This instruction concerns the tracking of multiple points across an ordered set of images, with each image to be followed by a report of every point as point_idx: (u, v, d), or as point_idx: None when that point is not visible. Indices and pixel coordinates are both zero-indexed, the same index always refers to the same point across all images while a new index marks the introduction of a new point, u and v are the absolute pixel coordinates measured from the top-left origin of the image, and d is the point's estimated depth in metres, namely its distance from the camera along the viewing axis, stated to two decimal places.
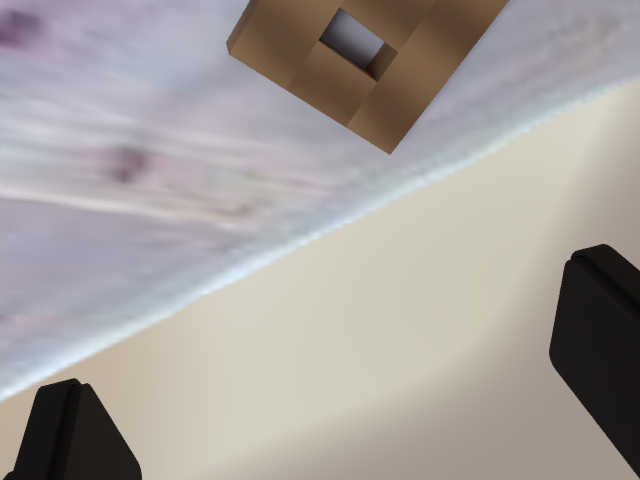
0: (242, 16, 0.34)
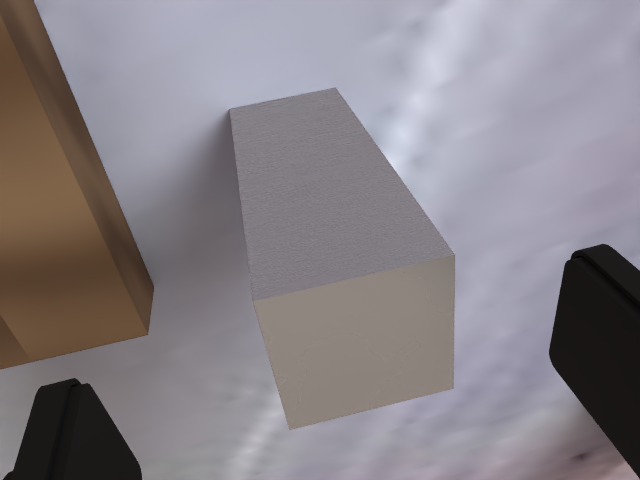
0: None
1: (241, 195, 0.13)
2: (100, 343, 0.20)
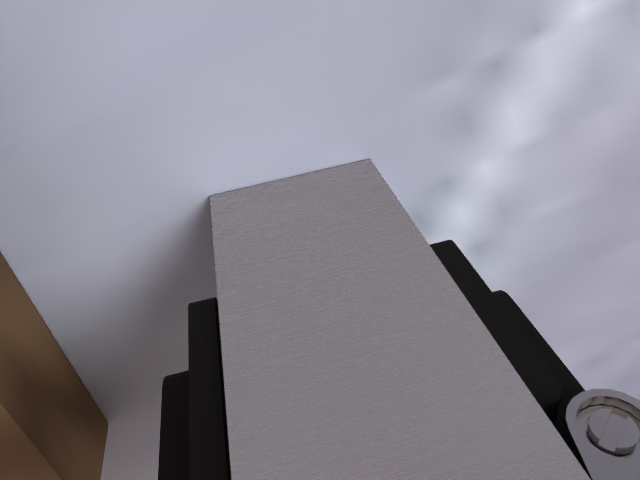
0: None
1: (231, 436, 0.07)
2: None
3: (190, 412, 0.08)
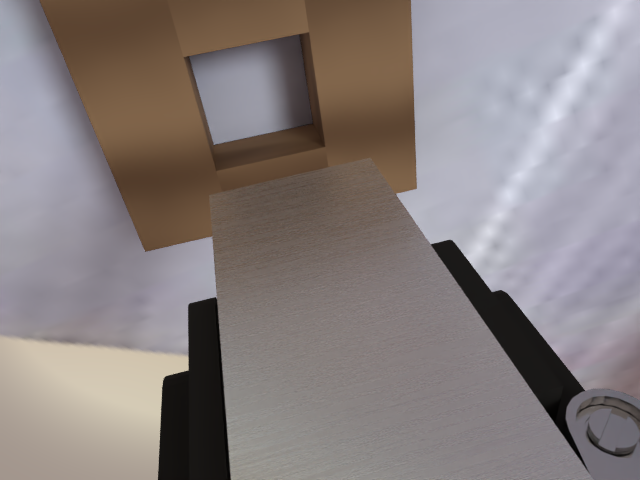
0: None
1: (230, 436, 0.07)
2: None
3: (190, 412, 0.08)
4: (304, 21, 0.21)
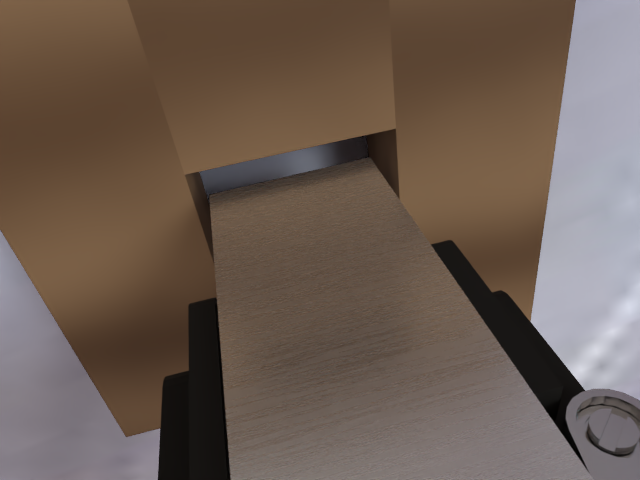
0: None
1: (230, 436, 0.07)
2: None
3: (190, 412, 0.08)
4: (390, 112, 0.12)
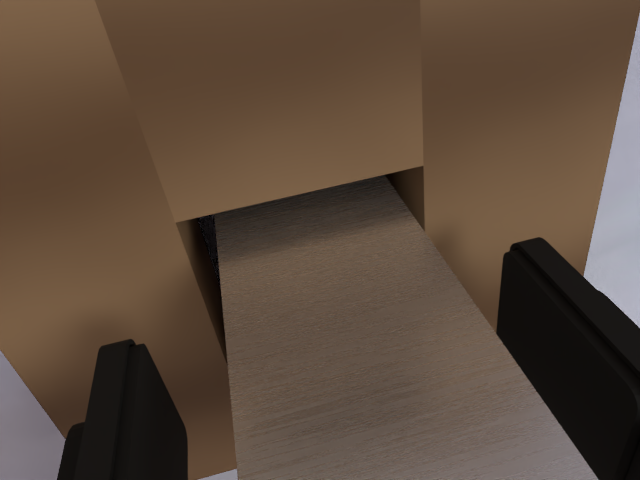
0: None
1: (231, 376, 0.08)
2: None
3: (75, 477, 0.07)
4: (417, 147, 0.10)
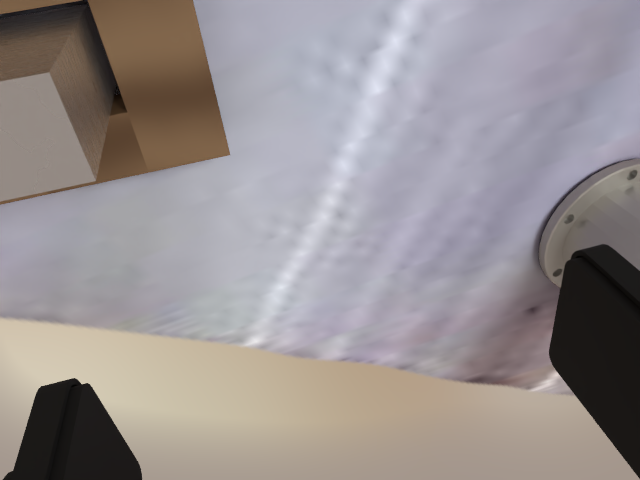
0: None
1: None
2: (197, 159, 0.28)
3: None
4: None
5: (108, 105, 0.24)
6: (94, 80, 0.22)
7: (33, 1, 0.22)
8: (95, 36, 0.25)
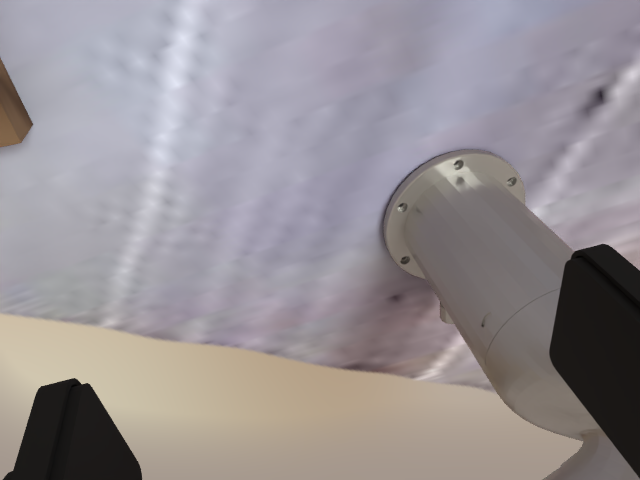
0: None
1: None
2: None
3: None
4: None
5: None
6: None
7: None
8: None
